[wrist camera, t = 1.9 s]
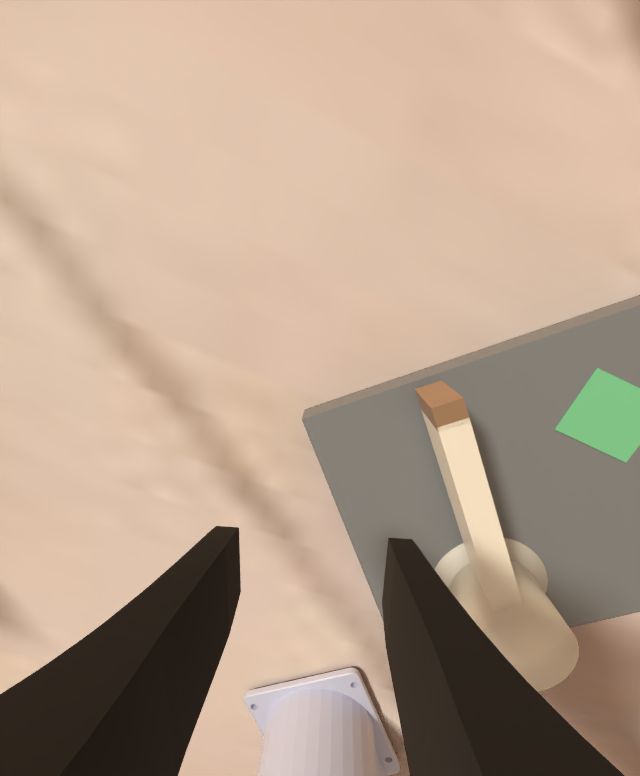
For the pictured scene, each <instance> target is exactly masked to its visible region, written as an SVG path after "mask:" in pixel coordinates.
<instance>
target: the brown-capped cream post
mask: <svg viewBox="0 0 640 776" xmlns="http://www.w3.org/2000/svg"><path fill="white" fill-rule="evenodd" d="M415 392H416V395H417V398H418V401H419V404H420V408H421V411H422V414H423V417H424V420H425V423H426V426H427V430H428V433H429V436H430V439H431V442H432V445H433V448H434V452H435V455H436V458H437V461H438V464H439V467H440V470H441V474H442V477H443V480H444V483H445V486H446V489H447V492H448V496H449V499H450V502H451V505H452V508H453V511H454V514H455V518H456V521H457V524H458V527H459V530H460V533H461V536H462V540H463V543H464V546H465V549H466V552H467V555H468V558H469V562H470V564H468V565H466V566H465V567H463V568H462V569H461V570H460V571H459V572H458V573H457V574H456V575H455V576H454V578H453V580H452V582H451V584H450V587H449V590H450V591H451V593H452V594H453V595H454V596H455V598H456V599H457V600H458V601H459V603H460V604H461V605H462V606H463V608H464V609H465V610H466V611H467V613H468V614H469V615H470V617H471V618H472V619H473V620H474V621H475V623H476V624H477V625H478V626H479V627H480V629H481V630H482V631H483V632H484V633H485V635H486V636H487V637H488V638H489V639H490V640H491V642H492V643H493V644H494V645H495V646H496V647H497V648H498V650H499V651H500V652H501V653H502V654H503V655H504V657H505V658H506V659H507V660H508V661H509V662H510V663H511V664H512V665H513V666H514V668H515V669H516V670H517V671H518V672H519V673H520V674H521V675H522V676H523V677H524V678H525V680H526V681H527V682H528V683H529V684H530V685H531V686H532V687H533V688H534V689H535V690H536V691H537V692H541V691H544V690H547V689H549V688H552V687H554V686H556V685H557V684H559V683H560V682H562V681H563V680H564V679H566V678H567V677H568V676H569V675H570V673H571V672H572V671H573V669H574V668H575V666H576V664H577V661H578V658H579V644H578V641H577V639H576V637H575V635H574V633H573V632H572V631H571V629H570V628H569V626H568V625H567V624H566V622H565V621H564V619H563V618H562V616H561V615H560V614H559V612H558V611H557V609H556V608H555V607H554V605H553V604H552V602H551V601H550V599H549V598H548V597H547V595H546V594H545V592H544V591H543V590H542V588H541V587H540V585H539V584H538V582H537V581H536V580H535V578H534V577H533V575H532V574H531V573H530V571H529V570H528V569H527V568H526V567H525V566H523V565H522V564H520V563H518V562H516V561H514V560H511V559H510V558H509V554H508V551H507V547H506V544H505V540H504V537H503V533H502V530H501V526H500V523H499V519H498V516H497V512H496V509H495V505H494V502H493V498H492V495H491V491H490V488H489V484H488V481H487V477H486V474H485V470H484V467H483V463H482V460H481V456H480V453H479V449H478V446H477V442H476V439H475V435H474V432H473V428H472V425H471V421H470V418H469V414H468V411H467V407H466V404H465V400H464V398H463V397H462V396H461V395H460V394H458V393H457V392H456V391H454V390H453V389H452V388H450V387H449V386H448V385H447V384H445V383H444V382H443V381H441V380H440V381H437V382H434V383H432V384H429V385H426V386H423V387H420V388H417V389H415Z"/></svg>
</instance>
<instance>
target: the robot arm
mask: <svg viewBox="0 0 640 776" xmlns="http://www.w3.org/2000/svg"><path fill="white" fill-rule="evenodd" d="M240 592H241V589H240V554H239V528H236V527H221V526H216V527H215V528H213V529H212V530H211V531H210V532H209V533H208V534H207V535H206V536H204V537H203V538H202V539H201V540H200V541H199V542H198V543H197V544H196V545H195V546H194V547H192V548H191V549H190V550H189V551H188V552H187V553H186V554H185V555H184V556H183V557H182V558H180V559H179V560H178V561H177V562H176V563H175V564H174V565H173V566H172V567H170V568H169V569H168V570H167V571H166V572H165V573H164V574H162V575H161V576H160V577H159V578H158V579H157V580H156V581H154V582H153V583H152V584H151V585H150V586H149V587H148V588H146V589H145V590H144V591H143V592H142V593H140V594H139V595H138V596H137V597H135V598H134V599H133V600H132V601H131V602H129V603H128V604H127V605H126V606H124V607H123V608H122V609H121V610H119V611H118V612H117V613H116V614H115V615H113V616H112V617H111V618H110V619H108V620H107V621H106V622H104V623H103V624H102V625H101V626H99V627H98V628H97V629H95V630H94V631H93V632H91V633H90V634H89V635H87V636H86V637H85V638H83V639H82V640H80V641H79V642H78V643H76V644H75V645H73V646H72V647H71V648H69V649H68V650H66V651H65V652H64V653H62V654H61V655H59V656H58V657H56V658H55V659H54V660H52V661H51V662H49V663H48V664H46V665H45V666H43V667H42V668H41V669H39V670H38V671H36V672H35V673H33V674H31V675H30V676H28V677H27V678H25V679H24V680H22V681H21V682H19V683H17V684H16V685H14V686H13V687H11V688H10V689H8V690H7V691H5V692H3V693H2V694H0V776H178V773H179V770H180V767H181V764H182V761H183V758H184V755H185V752H186V749H187V747H188V744H189V741H190V739H191V736H192V733H193V731H194V728H195V725H196V723H197V720H198V717H199V715H200V712H201V709H202V707H203V704H204V701H205V699H206V696H207V693H208V691H209V688H210V685H211V683H212V680H213V677H214V675H215V672H216V669H217V667H218V664H219V661H220V659H221V656H222V653H223V650H224V648H225V645H226V642H227V639H228V637H229V634H230V630H231V626H232V623H233V619H234V615H235V611H236V608H237V604H238V600H239V596H240ZM382 609H383V620H384V631H385V641H386V649H387V655H388V660H389V666H390V671H391V676H392V682H393V687H394V692H395V697H396V703H397V708H398V713H399V718H400V724H401V729H402V734H403V739H404V745H405V750H406V755H407V760H408V765H409V771H410V776H624V775H623V774H622V773H621V772H620V771H619V770H618V769H617V768H616V767H614V766H613V765H612V764H611V763H610V762H609V761H608V760H607V759H606V758H605V757H604V756H603V755H602V754H600V753H599V752H598V751H597V750H596V749H595V748H594V747H593V746H592V745H591V744H590V743H589V742H587V741H586V740H585V739H584V738H583V737H582V736H581V735H580V734H579V733H578V732H577V731H576V730H575V729H574V728H573V727H572V726H571V725H570V724H569V723H568V722H567V721H566V720H565V719H564V718H563V717H562V716H561V715H560V714H559V713H558V712H557V711H556V710H555V709H554V708H553V707H552V706H551V705H550V704H549V703H548V702H547V701H546V700H545V699H544V698H543V697H542V696H541V695H540V694H539V693H538V692H537V691H536V690H535V689H534V688H533V687H532V686H531V685H530V684H529V683H528V682H527V681H526V680H525V678H524V677H523V676H522V675H521V674H520V673H519V672H518V671H517V670H516V669H515V668H514V666H513V665H512V664H511V663H510V662H509V661H508V660H507V659H506V658H505V657H504V655H503V654H502V653H501V652H500V651H499V650H498V648H497V647H496V646H495V645H494V644H493V643H492V642H491V640H490V639H489V638H488V637H487V636H486V635H485V633H484V632H483V631H482V630H481V629H480V627H479V626H478V625H477V624H476V623H475V621H474V620H473V619H472V618H471V617H470V615H469V614H468V613H467V611H466V610H465V609H464V608H463V606H462V605H461V604H460V603H459V601H458V600H457V599H456V598H455V596H454V595H453V594H452V593H451V591H450V590H449V589H448V587H447V586H446V585H445V583H444V582H443V581H442V579H441V578H440V577H439V575H438V574H437V572H436V571H435V570H434V568H433V567H432V566H431V564H430V563H429V561H428V560H427V559H426V557H425V556H424V554H423V553H422V551H421V550H420V549H419V547H418V546H417V544H416V543H415V542H414V541H413V540H412V539H402V538H388V546H387V556H386V566H385V576H384V586H383V596H382ZM244 702H245V704H246V706H247V707H248V709H249V711H250V713H251V715H252V716H253V718H254V720H255V722H256V723H257V725H258V727H259V729H260V731H261V732H262V734H263V736H264V738H263V743H262V749H261V755H260V761H259V766H258V772H257V776H388V775H394V774H397V773H399V771H400V764H399V760H398V758H397V756H396V754H395V751H394V749H393V747H392V745H391V742H390V740H389V738H388V736H387V733H386V731H385V729H384V727H383V724H382V722H381V720H380V718H379V715H378V713H377V711H376V708H375V706H374V704H373V702H372V699H371V697H370V695H369V693H368V690H367V688H366V686H365V684H364V681H363V679H362V677H361V675H360V672H359V671H358V670H357V669H356V668H353V667H351V668H346V669H341V670H337V671H332V672H328V673H323V674H319V675H315V676H310V677H306V678H301V679H297V680H292V681H288V682H284V683H279V684H275V685H270V686H266V687H262V688H257V689H253V690H249V691H247V692H246V694H245V699H244Z"/></svg>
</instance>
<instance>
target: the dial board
mask: <svg viewBox="0 0 640 776" xmlns="http://www.w3.org/2000/svg"><path fill="white" fill-rule="evenodd" d="M440 380H441V381H443V382H444V383H445V384H447V385H448V386H449V387H450V388H452V389H453V390H454V391H456V392H457V393H458V394H460V395H461V396H462V397H463V398H464V400H465V404H466V407H467V411H468V414H469V418H470V421H471V425H472V428H473V432H474V435H475V439H476V442H477V446H478V449H479V453H480V456H481V460H482V463H483V467H484V470H485V474H486V477H487V481H488V484H489V488H490V491H491V495H492V498H493V502H494V505H495V509H496V512H497V516H498V519H499V523H500V526H501V530H502V533H503V537H504V540H505V544H506V547H507V551H508V554H509V558H510V559H511V560H514V561H516V562H518V563H520V564H522V565H523V566H525V567H526V568H527V569H528V570H529V571H530V573H531V574H532V575H533V577H534V578H535V580H536V581H537V582H538V584H539V585H540V587H541V588H542V590H543V591H544V592H545V594H546V595H547V597H548V598H549V599H550V601H551V602H552V604H553V605H554V607H555V608H556V609H557V611H558V612H559V614H560V615H561V616H562V618H563V619H564V621H565V622H566V624H567V625H568V626H569V627H574V626H578V625H583V624H587V623H592V622H596V621H601V620H605V619H610V618H614V617H619V616H623V615H628V614H632V613H637V612H640V295H639V296H636V297H633V298H630V299H627V300H624V301H621V302H618V303H615V304H613V305H610V306H607V307H604V308H601V309H598V310H595V311H592V312H589V313H586V314H583V315H580V316H577V317H575V318H572V319H569V320H566V321H563V322H560V323H557V324H554V325H551V326H548V327H545V328H542V329H539V330H537V331H534V332H531V333H528V334H525V335H522V336H519V337H516V338H513V339H510V340H507V341H504V342H501V343H499V344H496V345H493V346H490V347H487V348H484V349H481V350H478V351H475V352H472V353H469V354H466V355H463V356H461V357H458V358H455V359H452V360H449V361H446V362H443V363H440V364H437V365H434V366H431V367H428V368H425V369H423V370H420V371H417V372H414V373H411V374H408V375H405V376H402V377H399V378H396V379H393V380H390V381H387V382H385V383H382V384H379V385H376V386H373V387H370V388H367V389H364V390H361V391H358V392H355V393H352V394H349V395H347V396H344V397H341V398H338V399H335V400H332V401H329V402H326V403H323V404H320V405H317V406H314V407H311V408H309V409H306V410H305V411H304V414H303V417H302V421H303V423H304V426H305V428H306V431H307V433H308V436H309V438H310V441H311V443H312V446H313V448H314V451H315V453H316V456H317V458H318V460H319V463H320V465H321V468H322V470H323V473H324V475H325V478H326V480H327V483H328V485H329V488H330V490H331V493H332V495H333V498H334V500H335V502H336V505H337V507H338V510H339V512H340V515H341V517H342V520H343V522H344V525H345V527H346V530H347V532H348V535H349V537H350V540H351V542H352V544H353V547H354V549H355V552H356V554H357V557H358V559H359V562H360V564H361V567H362V569H363V572H364V574H365V577H366V579H367V582H368V584H369V586H370V589H371V591H372V594H373V596H374V599H375V601H376V604H377V606H378V609H379V611H380V614H381V616H382V619H383V609H382V596H383V586H384V576H385V566H386V556H387V546H388V538H402V539H412V540H413V541H414V542H415V543H416V544H417V546H418V547H419V549H420V550H421V551H422V553H423V554H424V556H425V557H426V559H427V560H428V561H429V563H430V564H431V566H432V567H433V568H434V570H435V571H436V572H437V574H438V575H439V577H440V578H441V579H442V581H443V582H444V583H445V585H446V586H447V587H448V589H449V587H450V584H451V582H452V580H453V578H454V576H455V575H456V574H457V573H458V572H459V571H460V570H461V569H462V568H463V567H465V566H466V565H468V564H470V562H469V558H468V555H467V552H466V549H465V546H464V543H463V540H462V536H461V533H460V530H459V527H458V524H457V521H456V518H455V514H454V511H453V508H452V505H451V502H450V499H449V496H448V492H447V489H446V486H445V483H444V480H443V477H442V474H441V470H440V467H439V464H438V461H437V458H436V455H435V452H434V448H433V445H432V442H431V439H430V436H429V433H428V430H427V426H426V423H425V420H424V417H423V414H422V411H421V408H420V404H419V401H418V398H417V395H416V392H415V389H417V388H420V387H423V386H426V385H429V384H432V383H434V382H437V381H440ZM383 621H384V620H383Z"/></svg>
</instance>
